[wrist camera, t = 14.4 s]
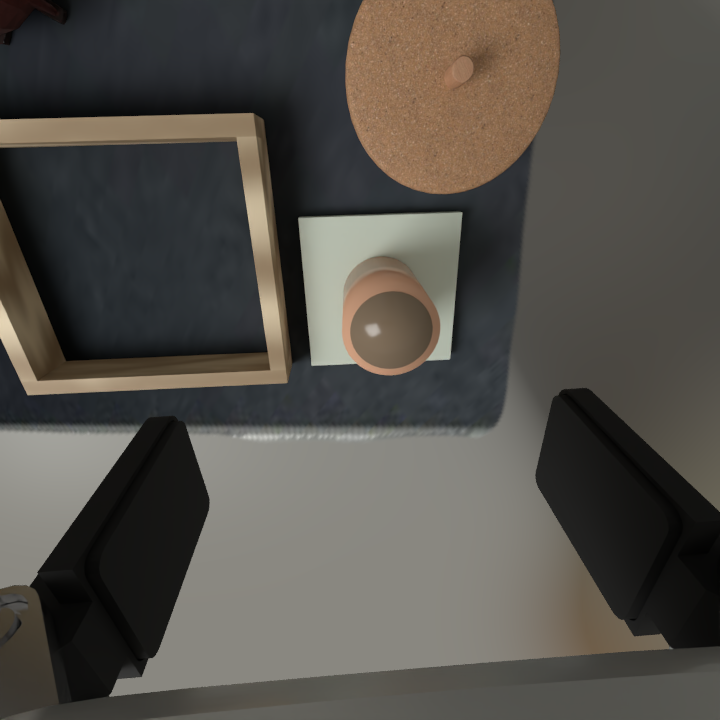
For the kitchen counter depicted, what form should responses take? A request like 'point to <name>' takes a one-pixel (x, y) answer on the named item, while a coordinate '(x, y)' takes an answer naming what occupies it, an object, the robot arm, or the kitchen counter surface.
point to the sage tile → (367, 240)
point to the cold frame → (56, 375)
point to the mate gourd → (25, 14)
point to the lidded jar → (450, 86)
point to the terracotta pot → (388, 317)
